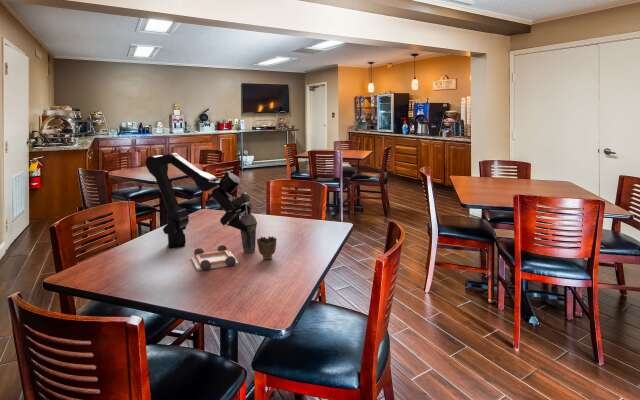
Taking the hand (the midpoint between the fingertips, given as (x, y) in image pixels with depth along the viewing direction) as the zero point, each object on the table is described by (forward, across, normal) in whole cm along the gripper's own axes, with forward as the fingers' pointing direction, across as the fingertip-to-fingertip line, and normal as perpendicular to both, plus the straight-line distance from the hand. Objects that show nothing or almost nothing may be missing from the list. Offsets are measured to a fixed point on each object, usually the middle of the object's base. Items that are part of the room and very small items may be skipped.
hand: (251, 228), depth 167 cm
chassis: (0, -14, +13) cm, 19 cm away
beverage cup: (+6, 0, +8) cm, 10 cm away
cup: (+14, -7, 0) cm, 15 cm away
